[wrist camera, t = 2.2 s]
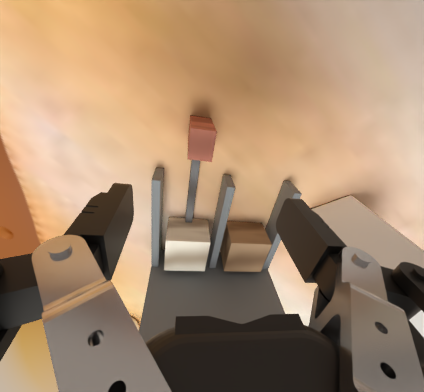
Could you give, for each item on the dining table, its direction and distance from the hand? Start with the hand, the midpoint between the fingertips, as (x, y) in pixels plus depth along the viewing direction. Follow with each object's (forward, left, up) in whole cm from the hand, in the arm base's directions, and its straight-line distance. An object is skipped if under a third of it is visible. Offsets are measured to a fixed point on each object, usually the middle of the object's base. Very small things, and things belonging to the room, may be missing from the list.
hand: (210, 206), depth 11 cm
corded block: (+9, 0, -16) cm, 18 cm away
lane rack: (+13, +5, -16) cm, 21 cm away
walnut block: (+16, +9, -16) cm, 25 cm away
